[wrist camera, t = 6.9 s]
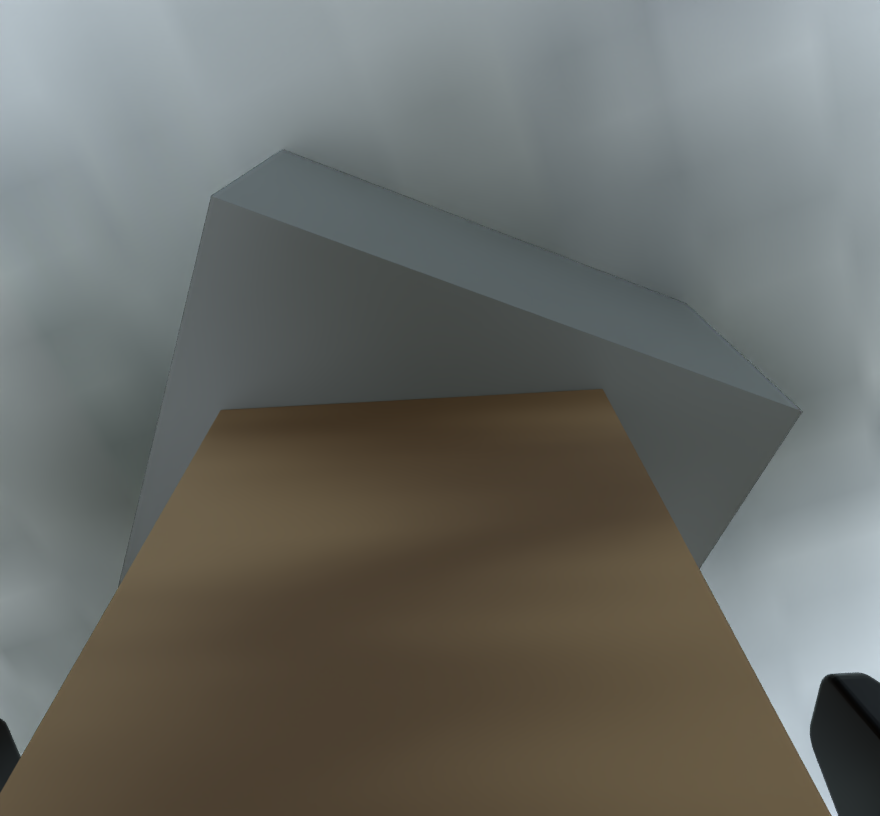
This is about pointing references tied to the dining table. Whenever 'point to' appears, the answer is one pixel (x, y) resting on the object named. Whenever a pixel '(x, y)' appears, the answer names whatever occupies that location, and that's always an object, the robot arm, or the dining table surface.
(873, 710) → the robot arm
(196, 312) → the slate base
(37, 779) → the walnut block
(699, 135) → the dining table surface
